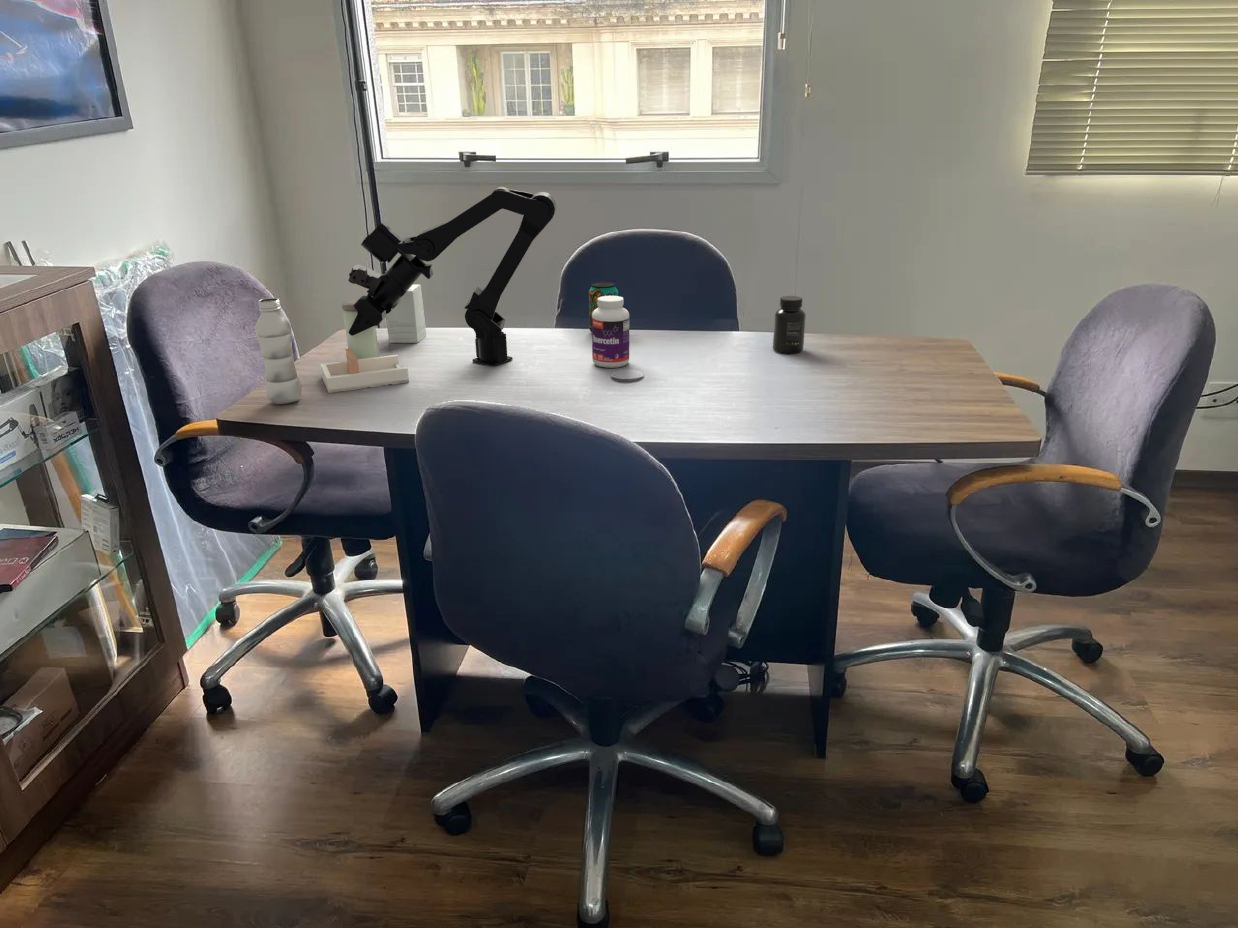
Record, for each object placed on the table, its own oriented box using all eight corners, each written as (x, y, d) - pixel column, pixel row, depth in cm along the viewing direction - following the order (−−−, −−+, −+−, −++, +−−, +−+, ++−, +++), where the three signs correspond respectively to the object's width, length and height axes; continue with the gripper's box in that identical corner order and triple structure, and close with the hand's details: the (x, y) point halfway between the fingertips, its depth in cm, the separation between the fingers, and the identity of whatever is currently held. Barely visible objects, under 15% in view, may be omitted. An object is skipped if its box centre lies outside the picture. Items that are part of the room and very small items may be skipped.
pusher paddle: (354, 371, 187) (351, 348, 186) (360, 382, 180) (357, 358, 178) (348, 372, 187) (345, 349, 185) (354, 383, 180) (351, 359, 178)
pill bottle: (586, 367, 192) (584, 301, 186) (601, 357, 198) (600, 293, 193) (621, 371, 189) (620, 304, 183) (635, 360, 196) (634, 295, 190)
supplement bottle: (807, 349, 203) (811, 296, 198) (796, 356, 197) (800, 302, 193) (779, 344, 206) (783, 293, 201) (767, 352, 201) (770, 299, 196)
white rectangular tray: (398, 368, 192) (397, 354, 191) (409, 382, 183) (407, 368, 182) (322, 377, 187) (320, 364, 185) (328, 393, 177) (326, 378, 176)
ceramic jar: (386, 360, 197) (379, 302, 192) (362, 367, 192) (354, 308, 187) (367, 355, 200) (359, 298, 195) (343, 362, 195) (334, 304, 190)
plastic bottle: (310, 398, 174) (295, 297, 166) (288, 409, 168) (271, 305, 161) (283, 395, 176) (266, 295, 168) (260, 406, 170) (241, 303, 163)
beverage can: (587, 336, 215) (586, 286, 210) (592, 329, 221) (591, 280, 217) (615, 337, 214) (615, 287, 209) (620, 329, 220) (620, 281, 215)
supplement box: (427, 335, 217) (422, 284, 212) (418, 343, 211) (412, 290, 206) (398, 335, 218) (392, 283, 213) (387, 343, 211) (381, 290, 206)
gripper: (379, 244, 195) (336, 295, 200) (357, 260, 178) (311, 315, 182) (419, 279, 198) (375, 329, 203) (401, 298, 181) (354, 351, 186)
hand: (354, 330), depth 193 cm, fingers closed on ceramic jar, 6 cm apart
